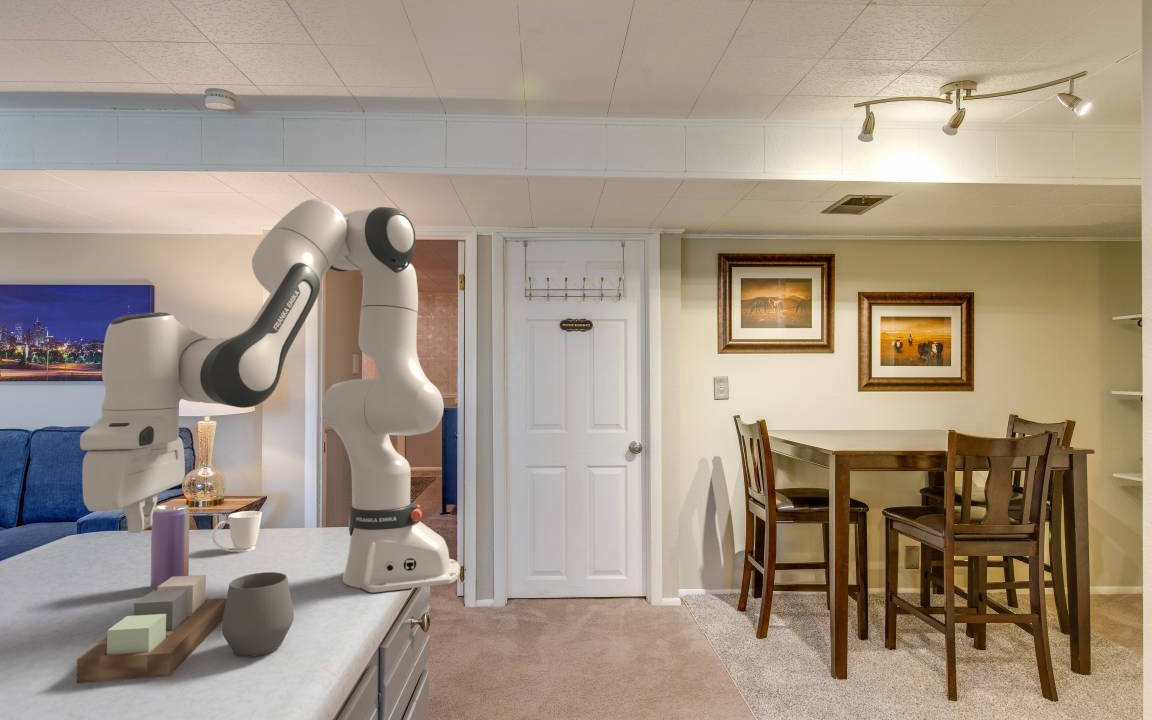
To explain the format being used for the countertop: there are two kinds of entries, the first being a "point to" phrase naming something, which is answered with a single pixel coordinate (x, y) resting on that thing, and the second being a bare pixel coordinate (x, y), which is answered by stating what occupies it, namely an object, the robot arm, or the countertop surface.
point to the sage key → (136, 634)
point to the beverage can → (169, 543)
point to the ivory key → (188, 589)
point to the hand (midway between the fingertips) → (140, 530)
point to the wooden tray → (161, 657)
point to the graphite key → (164, 606)
